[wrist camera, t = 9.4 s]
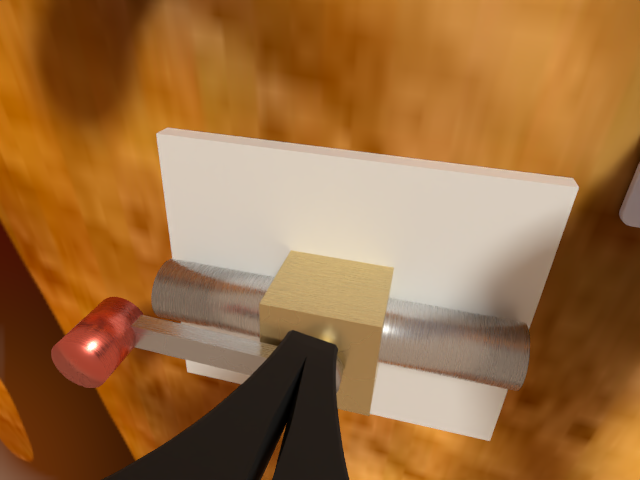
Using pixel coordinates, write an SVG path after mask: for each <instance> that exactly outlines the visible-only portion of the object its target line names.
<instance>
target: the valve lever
mask: <svg viewBox="0 0 640 480" xmlns="http://www.w3.org/2000/svg"><path fill="white" fill-rule="evenodd" d="M134 347H136V348H140V349H144V350H148V351H152V352H156V353H160V354H165V355H169V356H173V357H177V358H181V359H185V360H189V361H193V362H197V363H201V364H206V365H210V366H214V367H218V368H222V369H226V370H230V371H234V372H238V373H243V374H247V375H252V374H253V373H254V372H255V371H256V370H257V369H258V368H259V367H260V366H261V365H262V364H263V363H264V361H265V360H266V359H267V358H268V357H269V356H270V355H271V354H272V353H273V351H274V350H275V349H276V348H277V347H278V346H276V345H271V344H267V343H263V342H258V341H254V340H250V339H245V338H241V337H237V336H232V335H228V334H224V333H219V332H215V331H210V330H206V329H202V328H197V327H193V326H189V325H184V324H180V323H176V322H171V321H167V320H163V319H158V318H154V317H149V316H145V315H143V313H142V312H141V311H140V309H139V308H138V307H136V306H135V305H134V304H133V303H131V302H129V301H127V300H125V299H123V298H119V297H109V298H106V299H105V300H103V301H102V302H101V303H100V304H99V305H98V306H97V307H96V308H95V309H94V310H92V311H91V312H90V313H89V314H88V315H87V316H86V317H85V318H84V319H83V320H82V321H81V322H79V323H78V324H77V325H76V326H75V327H74V328H73V329H72V330H71V331H70V332H69V333H68V334H66V335H65V336H64V337H63V338H62V339H61V340H60V341H59V342H58V343H57V344H56V345H55V346H54V347H53V348H52V353H51V355H52V360H53V362H54V364H55V366H56V367H57V369H58V370H59V371H60V372H61V373H62V374H63V375H64V376H65V377H66V378H67V379H69V380H70V381H72V382H74V383H76V384H78V385H80V386H83V387H88V388H96V387H99V386H101V385H102V384H103V383H104V382H105V381H106V380H107V378H108V377H109V376H110V375H111V374H112V373H113V372H114V370H115V369H116V368H117V367H118V366H119V365H120V363H121V362H122V361H123V360H124V359H125V358H126V356H127V355H128V354H129V353H130V352H131V351H132V349H133V348H134ZM343 370H344V369H343V364H342V362H341V360H340V358H339V357H338V356H337V361H336V393H337V392H338V390H339V387H340V383H341V379H342V376H343Z"/></svg>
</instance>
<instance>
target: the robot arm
mask: <svg viewBox="0 0 640 480" xmlns="http://www.w3.org/2000/svg"><path fill="white" fill-rule="evenodd" d="M619 216H620V219H621V220H622V221H623V223H625V224H626V225H628V226H631V227H638V228H640V162H639V164H638V167H637V169H636V172H635V174H634V177H633V179H632V182H631V184H630V187H629V189H628V191H627V194H626V196H625V199H624V201H623V204H622V206H621V209H620V212H619ZM337 353H338V348H337V346H336V345H335V344H333V343H330V342H327V341H324V340H321V339H318V338H315V337H312V336H309V335H306V334H303V333H300V332H297V331H294V330H292V331H289V332H288V333H287V334H286V336H285V337H284V339H283V340H282V341H281V343H280V344H279V345H278V347H277V348H276V349H275V350H274V351H273V353H272V354H271V355H270V356H269V357H268V358H267V359H266V360H265V361H264V363H263V364H262V365H261V366H260V367H259V368H258V369H257V370H256V371H255V372H254V373H253V374H252V375H251V376H250V377H249V378H248V379H247V380H246V381H245V382H244V383H242V384H241V385H240V386H239V387H238V388H237V389H236V390H235V391H233V392H232V393H231V394H230V395H229V396H228V397H227V398H226V399H224V400H223V401H222V402H221V403H220V404H219V405H217V406H216V407H215V408H214V409H212V410H211V411H210V412H209V413H207V414H206V415H205V416H203V417H202V418H201V419H199V420H198V421H197V422H195V423H194V424H193V425H191V426H190V427H188V428H187V429H185V430H184V431H183V432H181V433H180V434H178V435H177V436H175V437H174V438H172V439H171V440H169V441H168V442H166V443H165V444H163V445H162V446H160V447H159V448H157V449H155V450H154V451H152V452H150V453H148V454H147V455H145V456H143V457H142V458H140V459H138V460H137V461H135V462H133V463H131V464H130V465H128V466H126V467H125V468H123V469H121V470H119V471H117V472H116V473H114V474H112V475H110V476H108V477H106V478H104V479H102V480H261V478H262V476H263V474H264V471H265V469H266V467H267V465H268V463H269V460H270V458H271V456H272V454H273V452H274V450H275V447H276V445H277V443H278V441H279V439H280V436H281V434H282V432H283V430H284V428H285V426H286V428H285V432H284V436H283V440H282V444H281V449H280V453H279V457H278V461H277V465H276V469H275V473H274V476H273V478H272V480H349V477H348V472H347V468H346V463H345V458H344V452H343V447H342V440H341V433H340V426H339V418H338V407H337V395H336V361H337ZM286 423H287V424H286Z"/></svg>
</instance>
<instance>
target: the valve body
mask: <svg viewBox="0 0 640 480" xmlns="http://www.w3.org/2000/svg"><path fill="white" fill-rule="evenodd" d="M393 271H394V268H393V267H387V266H381V265H375V264H369V263H363V262H357V261H352V260H346V259H340V258H334V257H328V256H322V255H316V254H310V253H304V252H298V251H292V250H291V251H290V253H289V254H288V256H287V258H286V259H285V261H284V263H283V264H282V266H281V268H280V270H279V271H278V273H277V275H276V276H275V277H272V276H267V275H261V274H256V273H250V272H245V271H239V270H234V269H228V268H223V267H217V266H212V265H206V264H201V263H195V262H189V261H184V260H178V259H170V260H168V261H166V262H165V263H164V264H163V265H162V267H161V268H160V270H159V272H158V274H157V276H156V278H155V281H154V285H153V289H152V307H153V310H154V313H155V314H156V315H157V316H158V317H162V318H167V319H172V320H176V321H181V322H186V323H191V324H196V325H201V326H205V327H210V328H215V329H220V330H225V331H229V332H234V333H239V334H244V335H249V336H254V337H258V338H260V342H263V343H267V344H271V345H276V346H278V345H279V344H280V343H281V341H282V340H283V339H284V337H285V336H286V334H287V333H288V332H289V331H292V330H294V331H297V332H300V333H303V334H306V335H309V336H312V337H315V338H318V339H321V340H324V341H327V342H330V343H333V344H335V345H336V346H337V348H338V353H337V356H338V357H339V358H340V360H341V362H342V364H343V369H344V370H343V376H342V379H341V383H340V387H339V390H338V392H337V393H336V395H337V407H338V409H342V410H346V411H350V412H355V413H359V414H363V415H368V416H369V415H370V410H371V404H372V399H373V393H374V388H375V383H376V377H377V372H378V366H379V363H384V364H388V365H393V366H398V367H403V368H408V369H412V370H417V371H422V372H427V373H432V374H437V375H441V376H446V377H451V378H456V379H461V380H465V381H470V382H475V383H480V384H485V385H490V386H494V387H499V388H504V389H509V390H514V391H518V390H519V389H520V388H521V387H522V385H523V383H524V380H525V377H526V373H527V369H528V363H529V355H530V334H529V329H528V326H527V324H526V323H525V322H521V321H515V320H510V319H504V318H499V317H493V316H488V315H482V314H477V313H471V312H466V311H460V310H455V309H449V308H444V307H438V306H432V305H427V304H421V303H416V302H410V301H405V300H399V299H394V298H390V291H391V284H392V278H393Z"/></svg>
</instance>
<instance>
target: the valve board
mask: <svg viewBox="0 0 640 480" xmlns="http://www.w3.org/2000/svg"><path fill="white" fill-rule="evenodd" d="M156 136H157V144H158V151H159V159H160V167H161V174H162V182H163V190H164V197H165V205H166V212H167V220H168V228H169V235H170V243H171V251H172V258H173V259H178V260H184V261H189V262H195V263H201V264H206V265H212V266H217V267H223V268H228V269H234V270H239V271H245V272H250V273H256V274H261V275H267V276H272V277H275V276H276V275H277V273H278V271H279V270H280V268H281V266H282V264H283V263H284V261H285V259H286V258H287V256H288V254H289V253H290V251H291V250H292V251H298V252H304V253H310V254H316V255H322V256H328V257H334V258H340V259H346V260H352V261H357V262H363V263H369V264H375V265H381V266H387V267H393V268H394V271H393V278H392V284H391V291H390V298H394V299H399V300H405V301H410V302H416V303H421V304H427V305H432V306H438V307H444V308H449V309H455V310H460V311H466V312H471V313H477V314H482V315H488V316H493V317H499V318H504V319H510V320H515V321H521V322H525V323H526V324H527V326H528V329H529V328H530V325H531V323H532V320H533V317H534V314H535V311H536V308H537V305H538V303H539V300H540V297H541V294H542V291H543V288H544V285H545V283H546V280H547V277H548V274H549V271H550V268H551V266H552V263H553V260H554V257H555V254H556V251H557V248H558V246H559V243H560V240H561V237H562V234H563V231H564V228H565V226H566V223H567V220H568V217H569V214H570V211H571V209H572V206H573V203H574V200H575V197H576V194H577V191H578V189H579V187H578V185H577V184H576V182H575V181H574V179H573V178H567V177H559V176H551V175H543V174H535V173H527V172H519V171H511V170H503V169H495V168H487V167H479V166H471V165H463V164H455V163H447V162H439V161H431V160H423V159H415V158H407V157H399V156H391V155H383V154H375V153H367V152H359V151H351V150H343V149H335V148H327V147H318V146H310V145H302V144H294V143H286V142H278V141H270V140H262V139H254V138H246V137H238V136H230V135H222V134H214V133H206V132H198V131H190V130H182V129H174V128H166V129H164V130H162V131H160V132H158V133H156ZM181 324H184V325H189V326H193V327H197V328H202V329H206V330H210V331H215V332H219V333H224V334H228V335H232V336H237V337H241V338H245V339H250V340H254V341H258V342H260V338H258V337H254V336H249V335H244V334H239V333H234V332H229V331H225V330H220V329H215V328H210V327H205V326H201V325H196V324H191V323H186V322H181ZM186 366H187V372H190V373H194V374H199V375H203V376H208V377H212V378H216V379H221V380H225V381H229V382H234V383H238V384H242V383H244V382H245V381H246V380H247V379H248V378H249V377H250V376H251V375H247V374H243V373H238V372H234V371H230V370H226V369H222V368H218V367H214V366H210V365H206V364H201V363H197V362H193V361H189V360H186ZM507 391H508V389H504V388H499V387H494V386H490V385H485V384H480V383H475V382H470V381H465V380H461V379H456V378H451V377H446V376H441V375H437V374H432V373H427V372H422V371H417V370H412V369H408V368H403V367H398V366H393V365H388V364H384V363H379V366H378V372H377V377H376V383H375V388H374V393H373V399H372V404H371V410H370V414H374V415H378V416H382V417H387V418H391V419H396V420H400V421H404V422H409V423H413V424H417V425H422V426H426V427H430V428H435V429H439V430H444V431H448V432H452V433H457V434H461V435H465V436H470V437H474V438H479V439H483V440H487V441H490V439H491V437H492V434H493V431H494V428H495V425H496V422H497V419H498V417H499V414H500V411H501V408H502V405H503V402H504V399H505V397H506V394H507Z"/></svg>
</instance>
